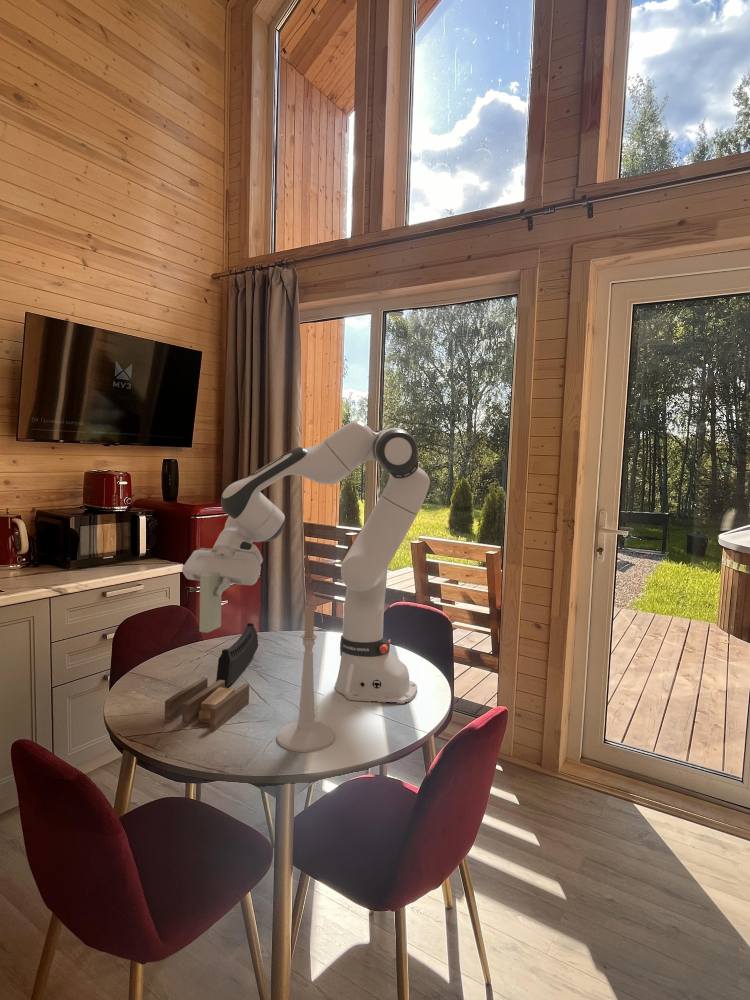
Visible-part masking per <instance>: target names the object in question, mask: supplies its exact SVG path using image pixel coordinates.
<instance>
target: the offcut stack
mask: <svg viewBox="0 0 750 1000" xmlns="http://www.w3.org/2000/svg"><path fill="white" fill-rule="evenodd" d="M234 691H235V688H231V687H230V688H228V687H225V688H221V687H219V688H218V689H217V690H216V691H215V692H213V693H212V694H211V695H210V696H209V697H208V698H207V699H205V700H204V701H203V702H202V703H201V710H200V711H199V723H202V724H210V708H212V707H213V706H215V705H216V704H217V703H219V702H220V701H221V700H223V699H224V698H226V697H227V696H228V695H230V694H231V693H232V692H234Z"/></svg>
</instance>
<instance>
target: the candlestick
mask: <svg viewBox="0 0 750 1000" xmlns="http://www.w3.org/2000/svg"><path fill="white" fill-rule="evenodd" d="M314 628H315V606H314V605H306V606H305V607H304V634H302V635H300V639H302V645H303V646H304V652H303V663H302V674H301V687H300V698H299V709H298V720H297V721H294V722H291V723H288V724H286V725H285V726H283V727H281V728H280V730H278V732H277V734H276V742H277V744H278V745H280V746H281V747H282V748H284V749H285V750H288V751H291V752H292V751H293V752H298V753H309V752H317V751H321V750H324V749H326V748H329V747H330V746H332V744H333V743H334V742H335V740H336V733H335V731H334V730H333V728H331V727H330V726H329V725H328V724H325V723H323V722H320V721H316V720H315V696H314V695H315V690H314V689H315V687H314V686H315V683H314V652H313V649H314V646H315V644H316V642H315V640H316V639H317V638H318V636H317V634H315V633H314V631H315V629H314Z"/></svg>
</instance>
